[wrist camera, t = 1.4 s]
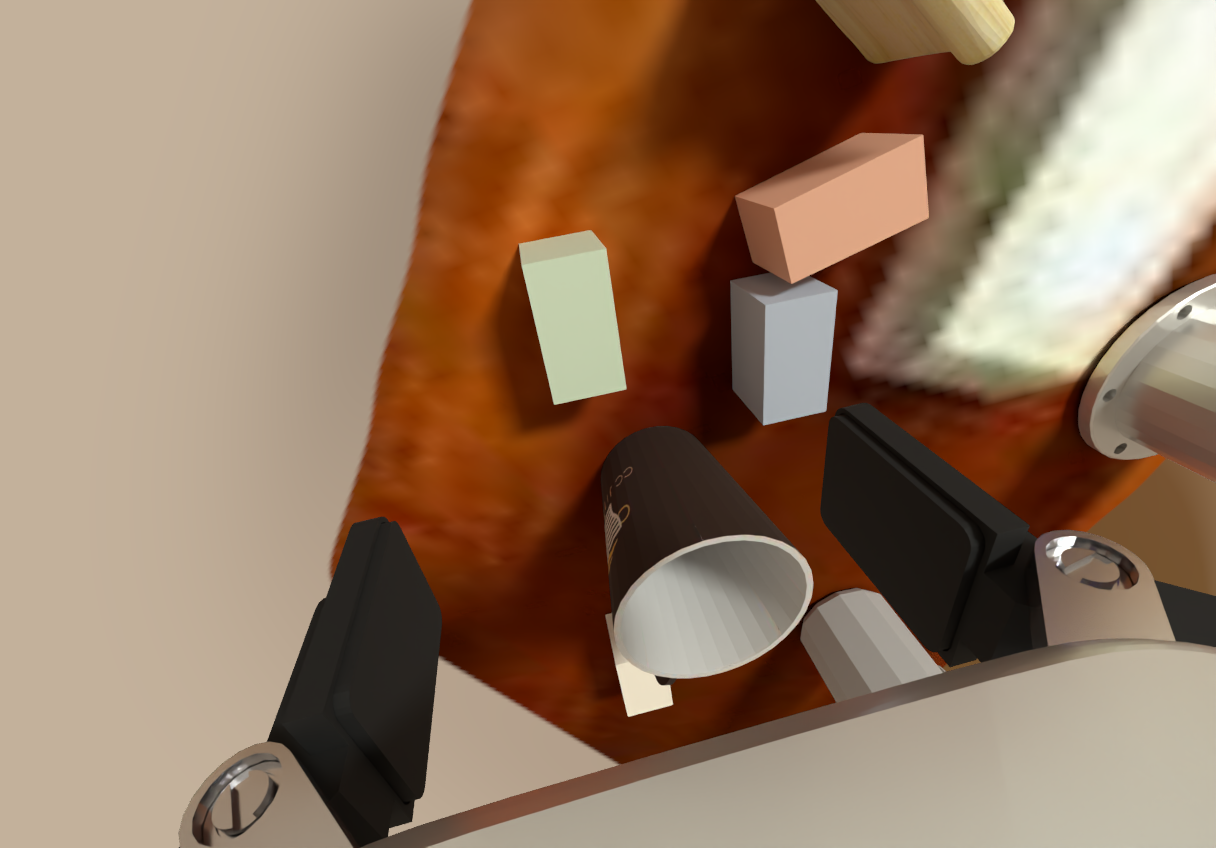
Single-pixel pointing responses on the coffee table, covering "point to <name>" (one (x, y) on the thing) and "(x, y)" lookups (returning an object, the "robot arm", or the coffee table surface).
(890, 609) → the water bottle
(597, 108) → the coffee table surface
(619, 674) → the cream brick
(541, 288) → the sage brick
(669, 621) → the coffee mug
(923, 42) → the toy sofa
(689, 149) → the coffee table surface
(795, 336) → the slate brick
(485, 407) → the coffee table surface
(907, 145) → the terracotta brick
